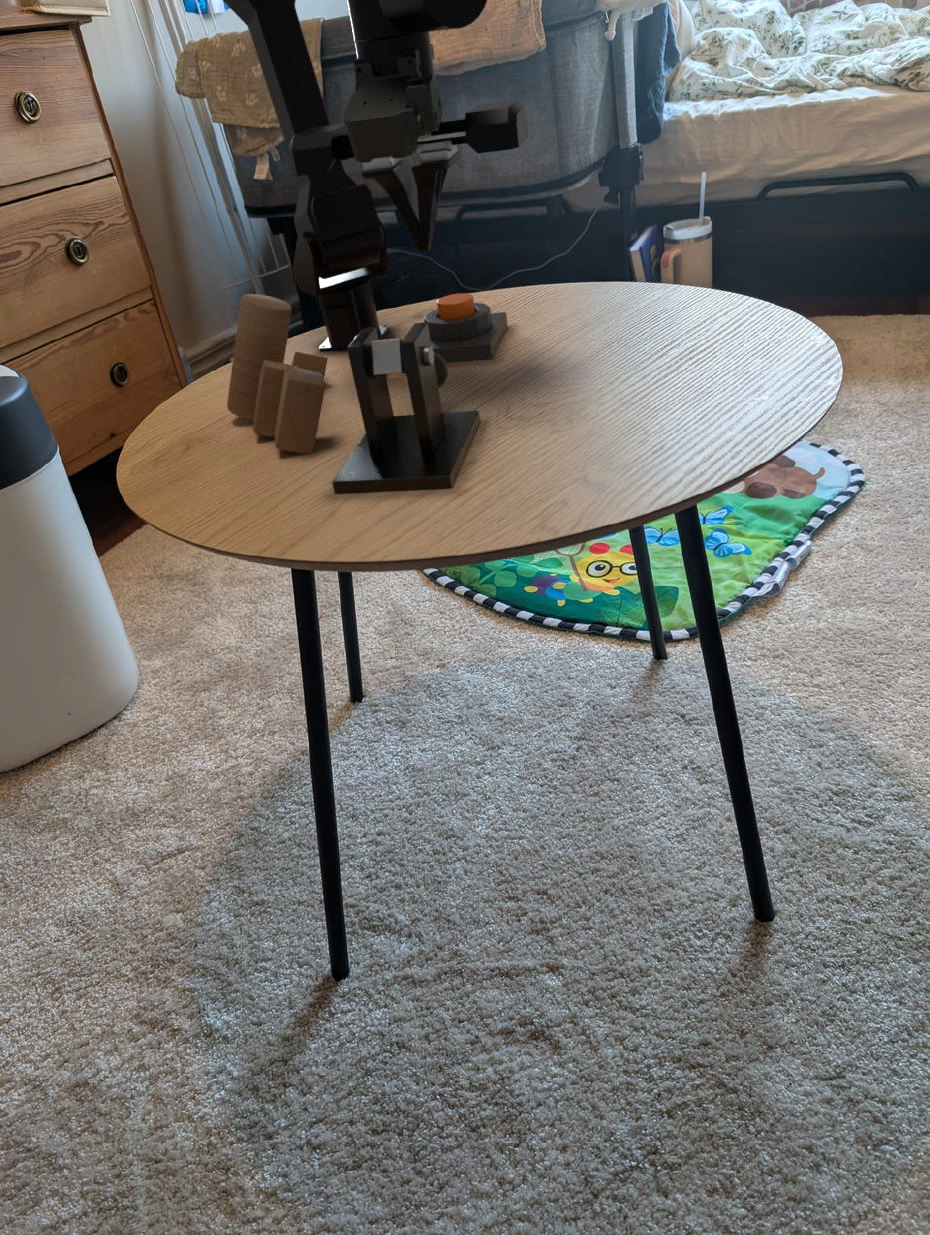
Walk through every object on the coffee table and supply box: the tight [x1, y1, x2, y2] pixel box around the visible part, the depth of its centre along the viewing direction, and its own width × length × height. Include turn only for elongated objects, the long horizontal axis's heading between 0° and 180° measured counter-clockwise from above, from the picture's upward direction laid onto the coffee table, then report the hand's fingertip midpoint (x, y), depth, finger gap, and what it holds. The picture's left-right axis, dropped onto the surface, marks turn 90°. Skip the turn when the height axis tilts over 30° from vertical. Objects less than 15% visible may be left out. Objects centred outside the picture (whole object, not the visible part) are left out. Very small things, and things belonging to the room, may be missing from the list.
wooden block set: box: [226, 293, 328, 455], centre depth 78 cm, size 18×9×10 cm, turn 11°
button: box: [436, 292, 475, 320], centre depth 89 cm, size 4×4×2 cm
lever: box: [371, 338, 449, 389], centre depth 71 cm, size 13×3×3 cm, turn 169°
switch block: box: [423, 302, 509, 364], centre depth 90 cm, size 10×8×4 cm
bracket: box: [331, 321, 481, 495], centre depth 68 cm, size 12×9×10 cm
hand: (425, 250), depth 77 cm, fingers closed
